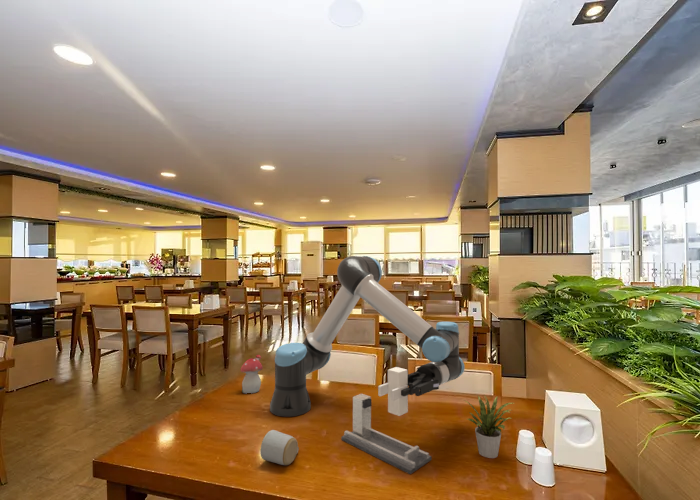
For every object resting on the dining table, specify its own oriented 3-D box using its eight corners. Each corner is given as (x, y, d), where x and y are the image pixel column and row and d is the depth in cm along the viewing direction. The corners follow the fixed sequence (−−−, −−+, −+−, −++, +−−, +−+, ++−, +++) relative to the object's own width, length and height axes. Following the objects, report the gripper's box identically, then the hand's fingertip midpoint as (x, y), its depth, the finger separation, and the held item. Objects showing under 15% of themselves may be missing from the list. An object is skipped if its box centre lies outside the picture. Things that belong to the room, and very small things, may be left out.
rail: (341, 439, 113) (341, 397, 114) (363, 429, 120) (363, 389, 121) (410, 474, 95) (410, 423, 95) (431, 459, 102) (431, 412, 102)
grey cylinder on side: (284, 472, 96) (285, 442, 96) (259, 464, 99) (260, 435, 100) (305, 453, 106) (305, 426, 106) (281, 447, 109) (282, 421, 109)
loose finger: (386, 411, 105) (386, 369, 105) (395, 407, 108) (394, 366, 108) (399, 416, 102) (399, 372, 102) (407, 412, 104) (407, 369, 105)
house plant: (531, 459, 102) (530, 400, 103) (499, 474, 95) (498, 410, 96) (488, 438, 114) (487, 385, 115) (457, 450, 107) (456, 393, 108)
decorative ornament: (261, 387, 160) (261, 353, 161) (263, 392, 154) (264, 356, 155) (239, 390, 157) (239, 355, 157) (240, 395, 151) (241, 358, 151)
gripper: (456, 393, 111) (411, 416, 95) (410, 380, 123) (363, 399, 107) (456, 368, 112) (411, 387, 95) (410, 358, 124) (363, 373, 107)
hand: (385, 393), depth 101 cm, fingers closed on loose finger, 4 cm apart
